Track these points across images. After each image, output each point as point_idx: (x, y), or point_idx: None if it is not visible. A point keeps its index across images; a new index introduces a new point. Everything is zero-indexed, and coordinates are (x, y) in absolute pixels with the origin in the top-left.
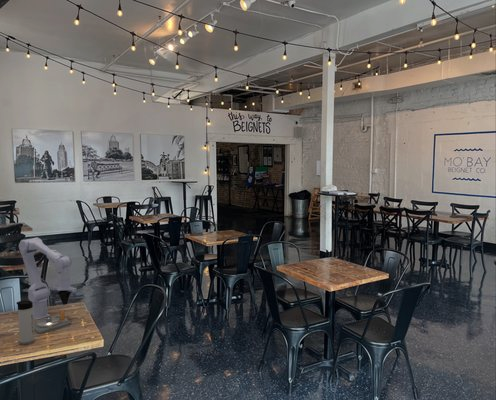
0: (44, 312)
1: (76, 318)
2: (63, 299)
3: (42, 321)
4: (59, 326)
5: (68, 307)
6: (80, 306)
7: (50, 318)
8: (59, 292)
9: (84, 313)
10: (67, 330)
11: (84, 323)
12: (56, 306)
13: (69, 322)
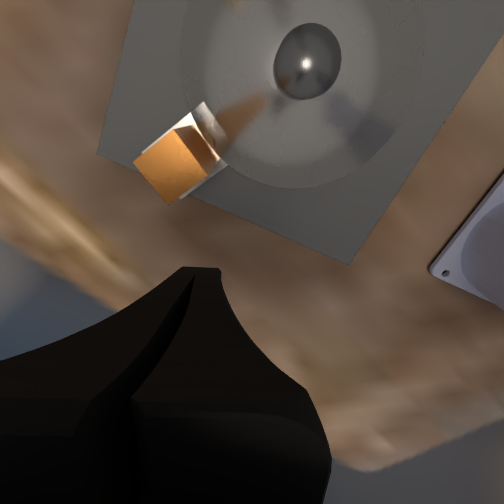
0: (492, 252)
1: None
2: (155, 304)
3: (376, 43)
4: (128, 29)
5: (391, 414)
6: None
7: (276, 55)
8: (232, 458)
9: None
10: (12, 6)
11: (28, 206)
12: (487, 412)
13: (115, 151)
